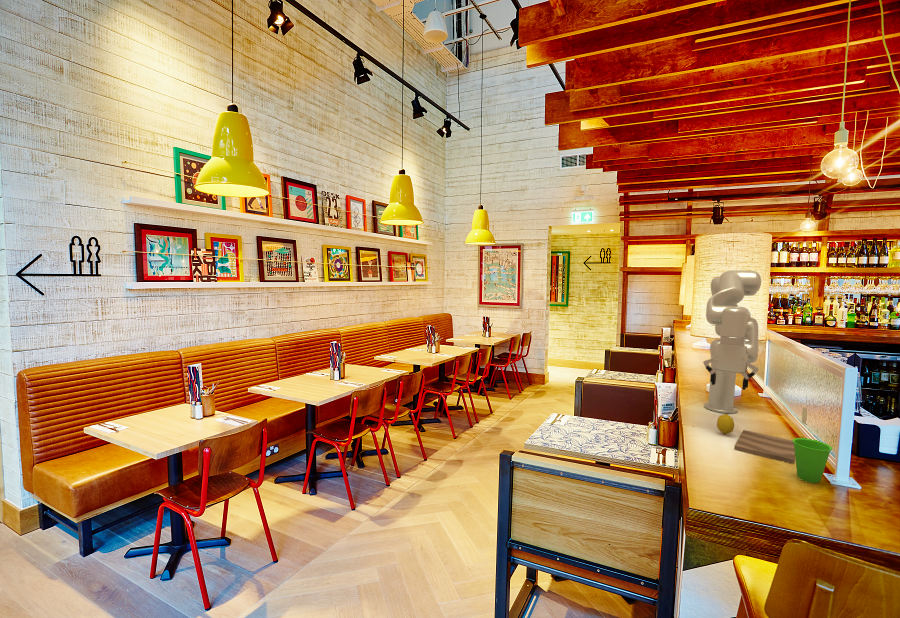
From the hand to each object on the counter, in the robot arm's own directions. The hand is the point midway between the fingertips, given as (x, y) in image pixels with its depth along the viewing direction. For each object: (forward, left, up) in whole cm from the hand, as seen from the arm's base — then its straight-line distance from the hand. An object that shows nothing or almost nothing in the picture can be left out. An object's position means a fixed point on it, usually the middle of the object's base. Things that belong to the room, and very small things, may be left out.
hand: (728, 386), depth 159 cm
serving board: (+4, +13, -19) cm, 23 cm away
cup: (+24, +25, -19) cm, 39 cm away
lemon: (0, 0, -19) cm, 19 cm away
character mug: (-14, +25, -19) cm, 34 cm away
